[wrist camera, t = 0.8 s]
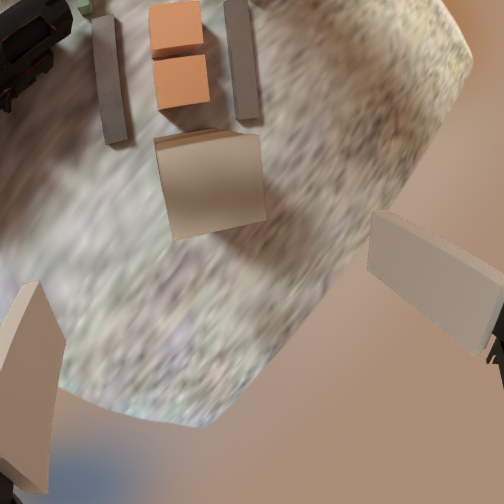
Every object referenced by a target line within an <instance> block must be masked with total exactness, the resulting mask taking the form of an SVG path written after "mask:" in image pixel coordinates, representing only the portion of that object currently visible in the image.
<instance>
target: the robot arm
mask: <svg viewBox="0 0 504 504" xmlns="http://www.w3.org/2000/svg"><path fill="white" fill-rule="evenodd" d="M367 270H368V271H369V272H371V273H372V274H373V275H375V276H376V277H377V278H379V279H380V280H381V281H382V282H384V283H385V284H386V285H388V286H389V287H390V288H391V289H393V290H394V291H395V292H397V293H398V294H399V295H400V296H401V297H403V298H404V299H405V300H406V301H408V302H409V303H410V304H412V305H413V306H414V307H415V308H416V309H418V310H419V311H420V312H421V313H423V314H424V315H425V316H426V317H427V318H429V319H430V320H431V321H432V322H434V323H435V324H436V325H437V326H438V327H440V328H441V329H442V330H443V331H444V332H446V333H447V334H448V335H449V336H450V337H452V338H453V339H454V340H455V341H456V342H457V343H459V344H460V345H461V346H462V347H463V348H464V349H466V350H467V351H468V352H469V353H470V354H471V355H472V356H475V355H477V354H478V353H479V352H481V351H482V350H483V349H485V348H486V346H487V344H488V341H489V339H490V337H491V334H494V335H495V336H496V337H497V338H496V340H495V342H494V344H493V346H492V349H491V351H490V353H489V355H488V357H487V359H486V362H487V364H489V362H490V360H491V358H492V356H493V355H496V356H495V358H494V360H493V364H498V365H499V369H500V374H501V378H502V383H503V387H504V274H503V273H501V272H499V271H498V270H496V269H495V268H493V267H492V266H490V265H488V264H486V263H485V262H483V261H481V260H480V259H478V258H476V257H475V256H473V255H471V254H469V253H467V252H466V251H464V250H462V249H460V248H459V247H457V246H455V245H453V244H452V243H450V242H448V241H446V240H444V239H442V238H441V237H439V236H437V235H435V234H433V233H431V232H429V231H427V230H425V229H424V228H422V227H419V226H418V225H416V224H414V223H412V222H410V221H408V220H406V219H404V218H402V217H400V216H398V215H396V214H394V213H392V212H390V211H388V210H385V209H384V210H379V211H373V212H372V215H371V230H370V242H369V254H368V263H367ZM65 345H66V339H65V337H64V335H63V333H62V331H61V329H60V327H59V325H58V323H57V320H56V318H55V316H54V314H53V312H52V309H51V307H50V305H49V302H48V300H47V298H46V295H45V293H44V290H43V288H42V285H41V283H40V281H35V282H31V283H27V284H23V285H22V287H21V289H20V290H19V292H18V294H17V296H16V298H15V300H14V301H13V303H12V305H11V307H10V309H9V311H8V313H7V315H6V317H5V319H4V321H3V323H2V325H1V327H0V504H23V503H22V502H21V501H20V499H19V498H18V497H17V496H16V495H15V494H14V493H13V483H14V484H15V485H16V486H17V487H19V488H20V489H21V490H23V491H24V492H25V493H31V494H48V473H49V454H50V441H51V431H52V422H53V414H54V407H55V399H56V393H57V387H58V381H59V375H60V369H61V364H62V359H63V354H64V349H65Z"/></svg>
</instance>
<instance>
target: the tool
mask: <svg viewBox="0 0 504 504" xmlns="http://www.w3.org/2000/svg"><path fill="white" fill-rule="evenodd" d="M72 22H73V16H72V14H71V11H70V8H69V6H68V4H67V2H66V1H65V0H21V1H20V2H18V3H16V4H15V5H13V6H12V7H10V8H9V9H7V10H6V11H4V12H3V13H1V14H0V110H1V109H3V110H4V111H5V112H7V113H10V112H11V100H12V99H13V98H14V97H15V98H17V97H18V96H19V94H20V93H21V92H22V91H24V90H25V89H26V88H28V87H29V86H30V85H32V84H33V83H34V82H35V81H36V78H35V77H37V76H38V75H39V74H40V73H42V72H43V73H45V74H46V73H47V72H48V71H49V70H50V69H51V68H52V67H53V57H54V54H53V52H52V50H51V48H50V47H52V46H53V45H55V44H56V43H58V42H59V41H61V40H62V39H64V38H65V37H67V36H68V35H69V34H70V33H71V28H72Z"/></svg>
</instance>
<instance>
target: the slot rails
mask: <svg viewBox="0 0 504 504" xmlns="http://www.w3.org/2000/svg"><path fill="white" fill-rule="evenodd" d="M223 4H224V13H225V22H226V31H227V41H228V50H229V59H230V68H231V77H232V87H233V96H234V105H235V114H236V120H242V119H250V118H260V112H259V102H258V92H257V82H256V73H255V63H254V54H253V45H252V36H251V27H250V18H249V9H248V1H247V0H226V1H225V2H224V3H223ZM91 22H92V39H93V53H94V64H95V74H96V83H97V91H98V99H99V106H100V113H101V120H102V126H103V132H104V138H105V144H106V145H107V144H111V143H115V142H119V141H123V140H127V139H128V134H127V127H126V121H125V114H124V107H123V100H122V92H121V84H120V76H119V66H118V56H117V45H116V33H115V17H114V14H109V15H105V16H101V17H97V18H93V19H91Z"/></svg>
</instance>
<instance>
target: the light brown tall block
mask: <svg viewBox="0 0 504 504" xmlns="http://www.w3.org/2000/svg"><path fill="white" fill-rule="evenodd" d="M154 145H155V151H156V157H157V163H158V169H159V174H160V180H161V185H162V191H163V195H164V199H165V203H166V208H167V213H168V218H169V223H170V228H171V232H172V237H173V241H177V240H181V239H185V238H190V237H194V236H199V235H203V234H207V233H212V232H216V231H221V230H225V229H230V228H234V227H239V226H244V225H248V224H253V223H258V222H262V221H267V217H266V205H265V194H264V183H263V172H262V161H261V150H260V140H259V135H256V134H241V133H236V132H231V131H226V130H221V129H216V128H210V129H203V130H197V131H191V132H186V133H180V134H175V135H169V136H164V137H159V138H154Z"/></svg>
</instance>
